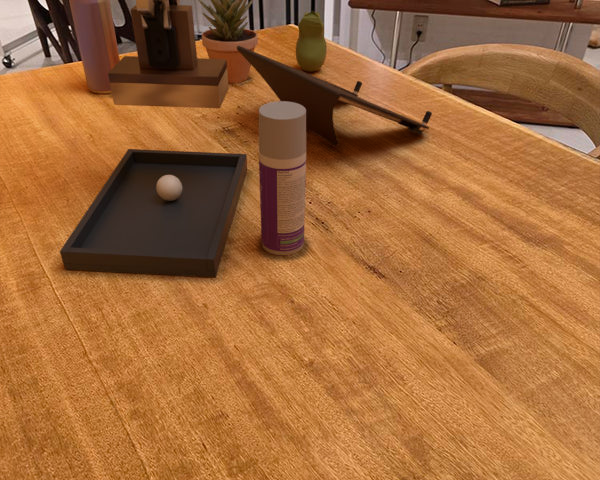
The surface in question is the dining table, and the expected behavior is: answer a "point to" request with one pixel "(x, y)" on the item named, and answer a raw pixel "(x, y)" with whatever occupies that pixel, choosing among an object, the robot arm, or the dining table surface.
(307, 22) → the pear
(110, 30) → the beverage can
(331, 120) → the laptop stand
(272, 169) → the container
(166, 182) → the white ball
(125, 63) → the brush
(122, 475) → the dining table surface
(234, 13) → the potted plant
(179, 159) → the tray
